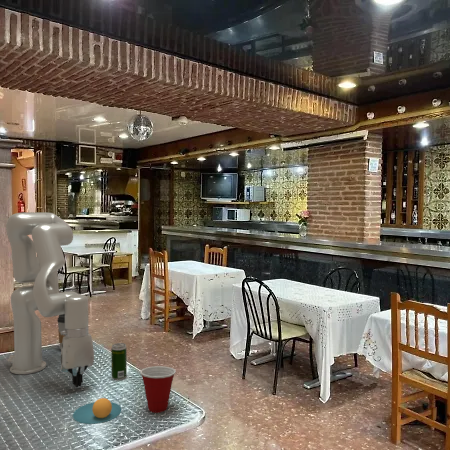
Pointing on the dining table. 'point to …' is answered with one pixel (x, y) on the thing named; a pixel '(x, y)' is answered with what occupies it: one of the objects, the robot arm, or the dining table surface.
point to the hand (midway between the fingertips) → (77, 385)
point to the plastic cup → (157, 386)
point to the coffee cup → (61, 327)
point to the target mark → (87, 416)
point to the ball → (102, 408)
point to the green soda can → (119, 361)
